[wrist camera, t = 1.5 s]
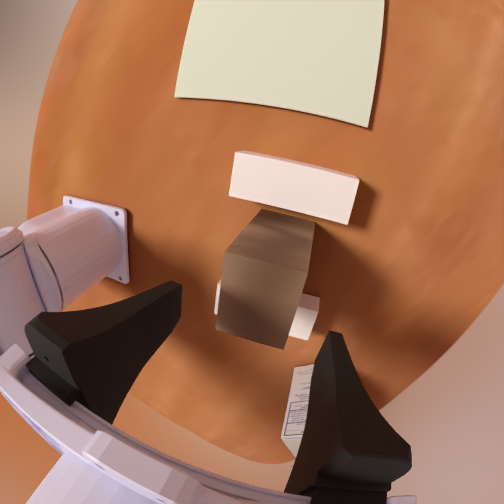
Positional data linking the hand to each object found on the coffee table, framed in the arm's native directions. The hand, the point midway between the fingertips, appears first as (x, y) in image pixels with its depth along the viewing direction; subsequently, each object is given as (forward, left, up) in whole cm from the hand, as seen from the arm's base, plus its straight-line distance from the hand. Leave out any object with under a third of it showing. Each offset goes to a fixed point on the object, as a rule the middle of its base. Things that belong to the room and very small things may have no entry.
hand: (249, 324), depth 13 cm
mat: (-3, +17, -10) cm, 20 cm away
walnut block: (0, 0, -10) cm, 10 cm away
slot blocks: (0, 0, -10) cm, 10 cm away
